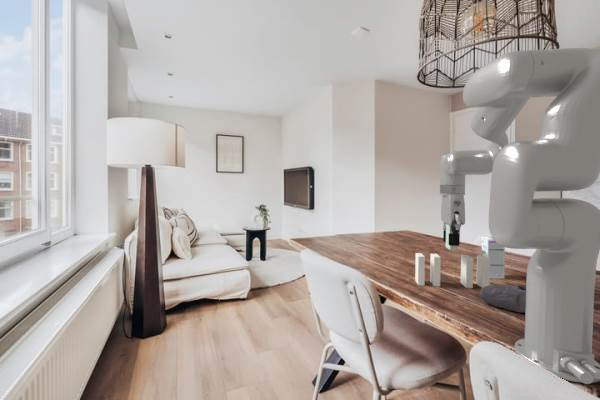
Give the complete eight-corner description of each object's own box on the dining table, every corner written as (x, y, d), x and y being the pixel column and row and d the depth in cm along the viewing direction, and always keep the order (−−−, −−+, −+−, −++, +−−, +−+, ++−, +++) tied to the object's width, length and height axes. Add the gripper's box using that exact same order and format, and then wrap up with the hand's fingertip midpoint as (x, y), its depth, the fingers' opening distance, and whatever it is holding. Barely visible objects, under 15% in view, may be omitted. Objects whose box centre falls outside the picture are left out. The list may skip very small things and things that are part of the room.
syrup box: (505, 279, 101) (506, 239, 101) (486, 278, 103) (487, 239, 102) (497, 274, 107) (498, 236, 106) (480, 273, 108) (481, 236, 107)
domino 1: (424, 285, 96) (424, 256, 95) (418, 285, 96) (418, 256, 96) (421, 280, 101) (421, 253, 100) (415, 280, 101) (415, 253, 101)
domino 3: (456, 250, 94) (457, 220, 93) (450, 250, 94) (450, 220, 93) (451, 247, 98) (452, 218, 98) (445, 246, 99) (446, 218, 98)
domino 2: (440, 286, 95) (440, 257, 94) (433, 286, 95) (434, 257, 95) (436, 281, 100) (436, 253, 99) (430, 281, 100) (430, 253, 100)
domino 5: (489, 289, 92) (490, 259, 91) (482, 288, 92) (483, 258, 92) (482, 284, 97) (483, 255, 96) (476, 283, 97) (477, 255, 97)
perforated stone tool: (478, 305, 80) (478, 281, 79) (480, 300, 84) (481, 277, 83) (548, 321, 70) (549, 294, 70) (547, 314, 74) (548, 288, 74)
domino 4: (472, 288, 93) (473, 258, 92) (466, 287, 93) (466, 258, 93) (466, 283, 98) (467, 254, 97) (460, 282, 98) (461, 254, 98)
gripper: (474, 191, 86) (473, 249, 87) (455, 189, 103) (454, 239, 104) (448, 191, 87) (447, 249, 88) (433, 190, 104) (432, 238, 105)
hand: (451, 243), depth 96 cm, fingers closed on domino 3, 4 cm apart
